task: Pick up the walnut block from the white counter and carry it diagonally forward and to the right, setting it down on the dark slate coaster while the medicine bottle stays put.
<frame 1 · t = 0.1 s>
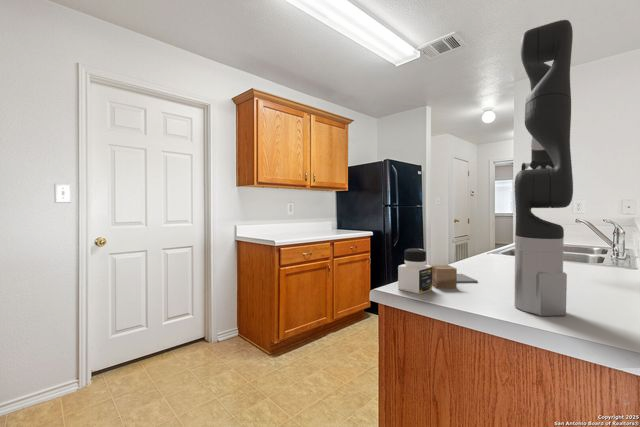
hand: (543, 188, 115), 31 cm above the worktop, tool tilted 20°, fingers open, 8 cm apart
slate coaster: (454, 279, 101), on the worktop
walnut block: (442, 285, 92), on the worktop
medicine bottle: (415, 290, 88), on the worktop
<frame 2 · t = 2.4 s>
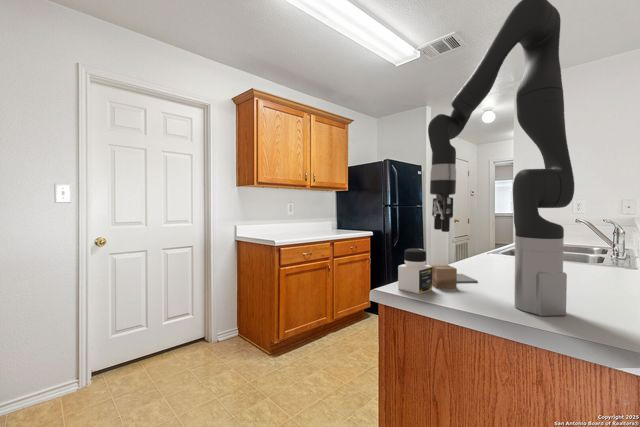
hand: (441, 230, 95), 17 cm above the worktop, tool pointing down, fingers open, 8 cm apart
nothing on the worktop moved.
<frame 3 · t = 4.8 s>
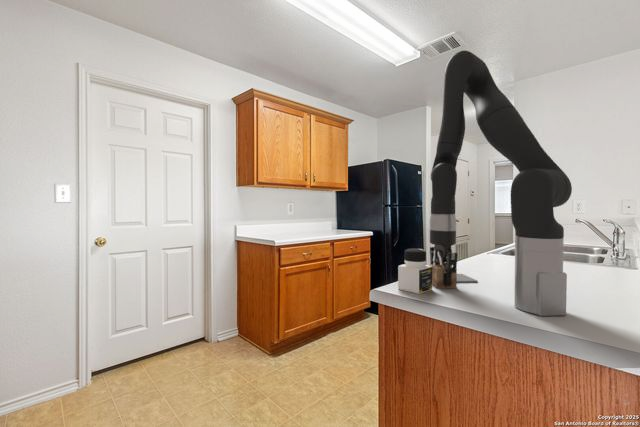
hand: (442, 282, 92), 1 cm above the worktop, tool pointing down, fingers closed on walnut block, 6 cm apart
walnut block: (442, 285, 92), on the worktop, touching gripper
everything else where it was.
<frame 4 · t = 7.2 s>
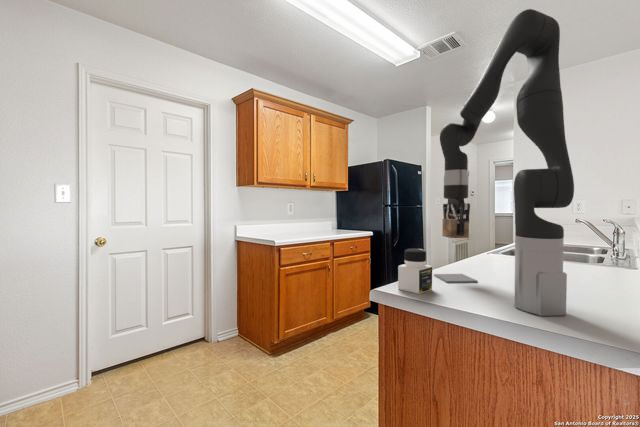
hand: (455, 234, 100), 15 cm above the worktop, tool pointing down, fingers closed on walnut block, 6 cm apart
walnut block: (455, 236, 100), point 14 cm above the worktop, touching gripper
everything else where it was.
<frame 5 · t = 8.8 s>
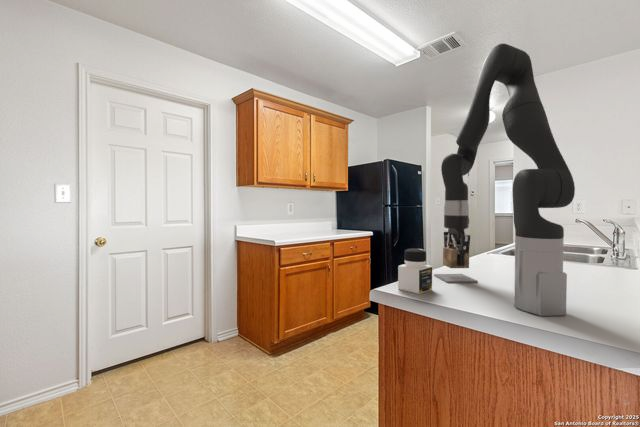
hand: (455, 263, 101), 5 cm above the worktop, tool pointing down, fingers closed on walnut block, 6 cm apart
walnut block: (455, 266, 101), point 4 cm above the worktop, touching gripper
everything else where it was.
when the fingers open (3 cm above the worktop, at t = 9.9 s): walnut block drops 2 cm, resting on slate coaster.
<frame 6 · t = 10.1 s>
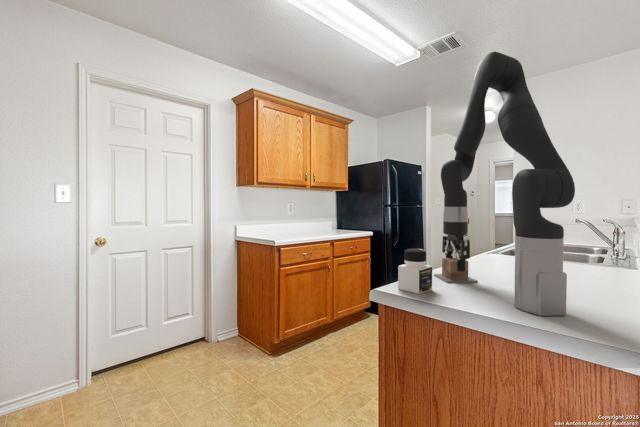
hand: (454, 268, 101), 4 cm above the worktop, tool pointing down, fingers open, 8 cm apart
walnut block: (454, 277, 101), point 1 cm above the worktop, touching slate coaster
everything else where it was.
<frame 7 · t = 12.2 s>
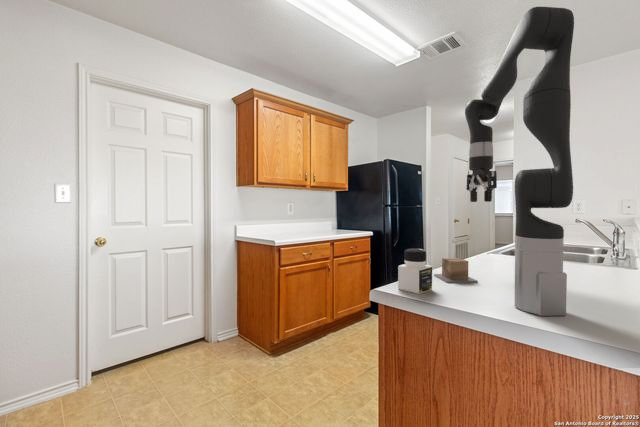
hand: (480, 201, 107), 26 cm above the worktop, tool pointing down, fingers open, 8 cm apart
nothing on the worktop moved.
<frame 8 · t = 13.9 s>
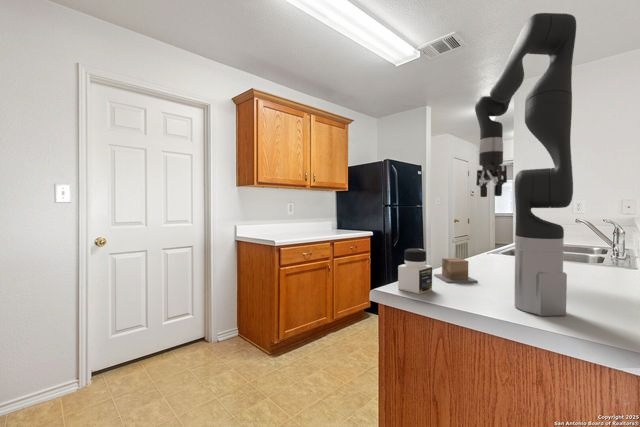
hand: (490, 196, 109), 28 cm above the worktop, tool pointing down, fingers open, 8 cm apart
nothing on the worktop moved.
at the end: walnut block inside the target area on the slate coaster (0.1 cm from its centre), point 0.6 cm above the slate coaster's base; walnut block tilted 0°; the gripper is holding nothing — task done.
